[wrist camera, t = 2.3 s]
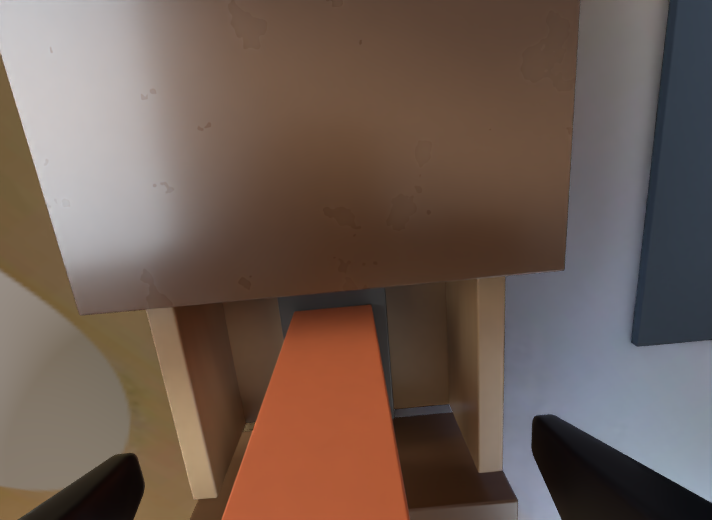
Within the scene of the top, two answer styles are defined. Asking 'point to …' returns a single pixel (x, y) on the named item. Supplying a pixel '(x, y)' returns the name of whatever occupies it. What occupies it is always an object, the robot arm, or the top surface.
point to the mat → (680, 189)
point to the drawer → (409, 382)
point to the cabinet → (294, 142)
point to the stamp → (325, 418)
